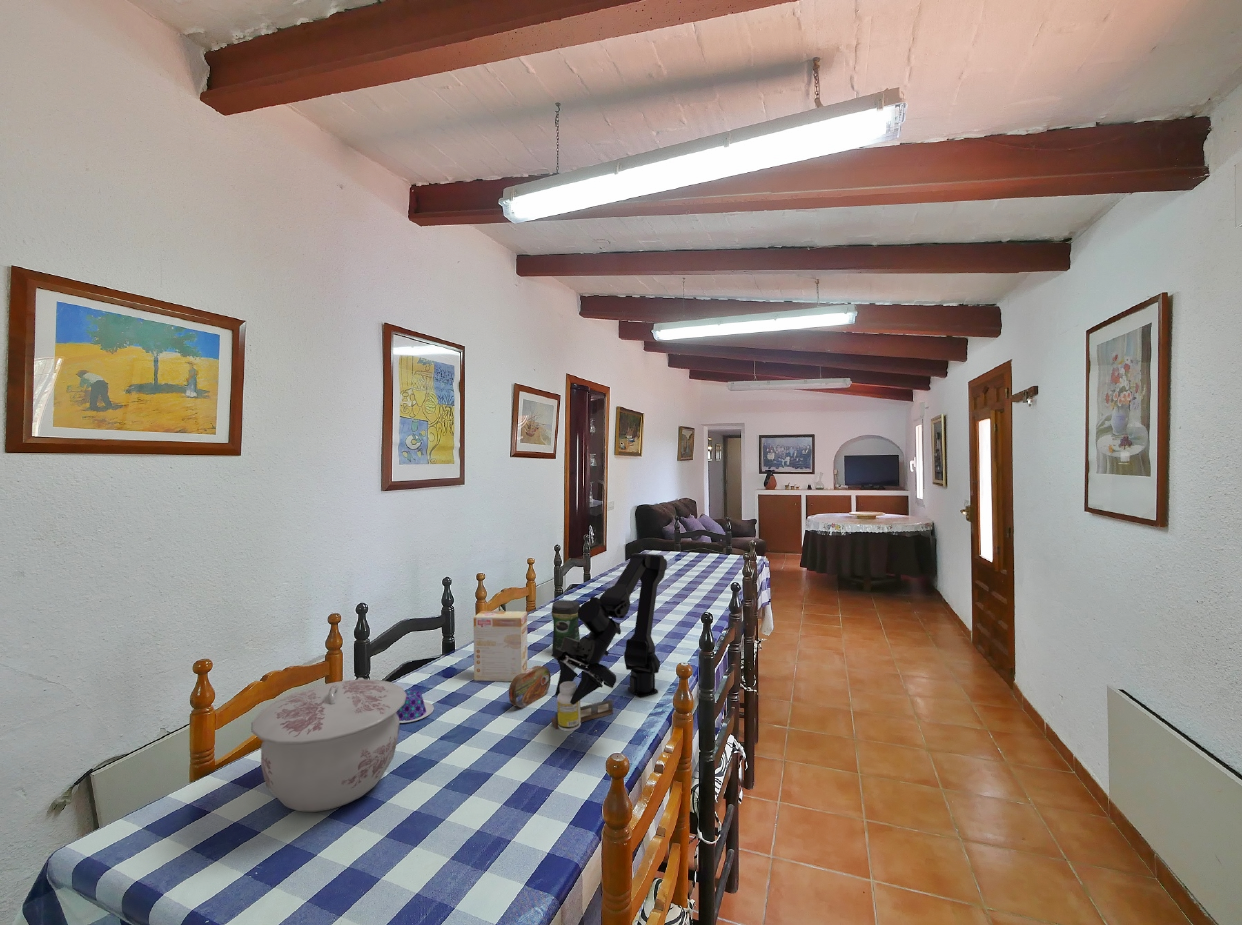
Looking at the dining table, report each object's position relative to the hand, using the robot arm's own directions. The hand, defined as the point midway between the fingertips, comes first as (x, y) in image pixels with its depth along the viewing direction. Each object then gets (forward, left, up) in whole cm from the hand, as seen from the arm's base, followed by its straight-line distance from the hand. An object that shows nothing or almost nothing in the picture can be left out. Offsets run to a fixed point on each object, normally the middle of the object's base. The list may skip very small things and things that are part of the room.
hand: (564, 699), depth 124 cm
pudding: (+29, -35, -11) cm, 46 cm away
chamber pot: (+47, -8, -10) cm, 49 cm away
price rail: (-9, -9, -10) cm, 16 cm away
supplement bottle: (-2, 0, -7) cm, 7 cm away
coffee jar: (-24, -53, -10) cm, 59 cm away
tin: (-1, -26, -10) cm, 28 cm away
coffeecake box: (+1, -46, -10) cm, 47 cm away
